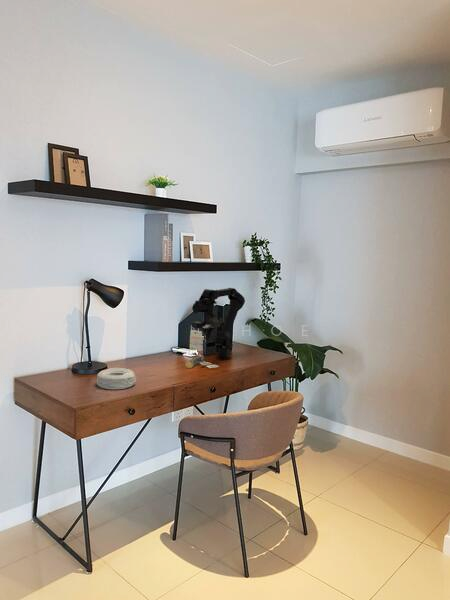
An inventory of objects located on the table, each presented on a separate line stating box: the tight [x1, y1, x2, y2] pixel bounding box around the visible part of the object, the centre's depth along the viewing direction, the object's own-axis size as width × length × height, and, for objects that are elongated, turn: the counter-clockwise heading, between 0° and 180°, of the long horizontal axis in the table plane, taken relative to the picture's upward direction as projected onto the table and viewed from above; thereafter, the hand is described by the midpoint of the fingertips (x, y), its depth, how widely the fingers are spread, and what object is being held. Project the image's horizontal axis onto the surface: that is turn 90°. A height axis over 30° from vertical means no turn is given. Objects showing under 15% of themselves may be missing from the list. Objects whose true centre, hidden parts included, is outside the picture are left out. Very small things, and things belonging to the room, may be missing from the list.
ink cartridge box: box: [189, 329, 204, 355], centre depth 289 cm, size 9×5×15 cm, turn 62°
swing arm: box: [185, 354, 205, 369], centre depth 264 cm, size 18×4×4 cm, turn 160°
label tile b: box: [205, 364, 220, 369], centre depth 261 cm, size 6×4×1 cm, turn 126°
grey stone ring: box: [96, 367, 137, 390], centre depth 221 cm, size 18×18×6 cm
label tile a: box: [198, 361, 213, 366], centre depth 267 cm, size 6×4×1 cm, turn 126°
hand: (207, 339), depth 270 cm, fingers closed
